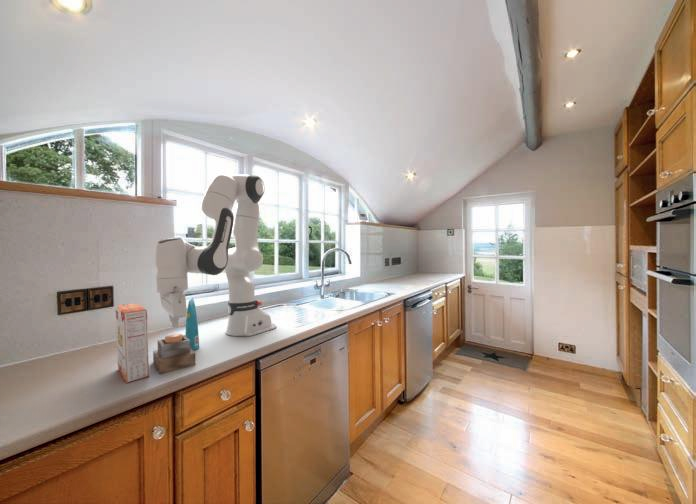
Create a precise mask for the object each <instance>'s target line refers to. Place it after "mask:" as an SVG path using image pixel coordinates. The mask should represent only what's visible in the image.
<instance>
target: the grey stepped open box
mask: <svg viewBox="0 0 696 504" xmlns="http://www.w3.org/2000/svg"><path fill="white" fill-rule="evenodd" d="M152 356H153V358H152V361H153V364H154V366H155V369H156V370H157V371H158V373H159V375H162V374H166V373H169V372H174V371H177V370H180V369H184V368H188V367H192V366H195V365H196V352H195V350H192V349H191V348H190V340H189V339H188V338H187V337H186V336H185V334H182V341H180V342H175V343H170V344H165V338H161V339H157V350H156V349H155V350H153V351H152Z"/></svg>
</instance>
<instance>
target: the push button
mask: <svg viewBox="0 0 696 504" xmlns="http://www.w3.org/2000/svg"><path fill="white" fill-rule="evenodd" d="M182 335H183V334H182V333H171V334H168V335H165V337H164V339H165V344H170V343H175V342H180V341H182Z"/></svg>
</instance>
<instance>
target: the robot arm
mask: <svg viewBox="0 0 696 504" xmlns="http://www.w3.org/2000/svg"><path fill="white" fill-rule="evenodd" d="M264 194H265V183H264V180H263V179H262V178H261V177H260V176H258V175H255V174H243V173H242V174H240V173H238V174H229V175H227V174H218V175H215V177H214V178H213V179H212V181H210V183H209V185H208V186H207V188H206V191H205V193H204V195H203V197H202V199H201V204H200V210H201V212H202V214H203V215H204V216H205V217H206V218H207V219H209V220H210V221H212V222H214V224H215V225H214V230H213V234H212V238H211V241H210V243H209V244H208V245H206V246H196V245H194V244H191V243H189V242H187V240H185V239H184V237H180V236H175V237H166V238H163V239H160V240H159V241H158V242H157V244H156V247H155V267H156V270H157V273H156V293H159V296H160V303H161V307H162V310H164V311H166V313H168V318H169V322H170V323H169V324H170V326H171V327H172V328H177V327H179V321H180V319H181V318H185V317H187V309H188V307H187V301H186V300H187V299H186V294H185V291H187V290H189V283H188V281H189V280H188V273H189V274H190V273H191V274H204V275H210V276H217V275H219V274H221V273H222V272H224V271H225V275H226V279H227V285H228V302H227V314H228V318H227V319H228V321H227V327H226V331H225V334H226V335H227V336H232V337H233V336H234V337H235V336H236V337H237V336H238V337H241V336H242V337H243V336H244V337H245V336H246V337H252V336H254V335H258V334H261V333H264V332H268V331H271V330H275V329H277V325H276V323H274V322H272V317H271V315H270V314H269V313H268V312H266V311H265V310H263V309H262V308H260V307H259V306H262V304H263V301H261V300H256V299H255V283H254V280H253V279H252V278H251V274H250V273H251V272H255V271H257V270H259V269H261V268H262V265H263V263H264V256H263V253H262V252H261V251H260V246H259V241H258V240H259V239H258V233H259V224H260V215H261V214H260V213H261V210H260V209H261V208H260V206H261V205H260V200H261V199H262V197H263V195H264ZM235 202H237V203H236V207H235V210H234V211H235V212H234V213H233V212H232V211H233V207H234V204H235ZM232 236H233V237H234V243H235V244H234V245H235V247H232V248H229V246H230V242H231V238H232Z"/></svg>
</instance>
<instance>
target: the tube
mask: <svg viewBox="0 0 696 504" xmlns="http://www.w3.org/2000/svg"><path fill="white" fill-rule="evenodd" d="M197 314H198V313H197V309H196V304H195V300H194V297H192V298H191V299H190V300H189V301H188V304H187V314H186V316H185V317H186V318H185V334H184V335H185V336H186V337H187V338H188V339H189V340H190V348H191V349H192V350H193V351H196V350H197V349H199V348H200V336H199V324H198V316H197Z"/></svg>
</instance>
